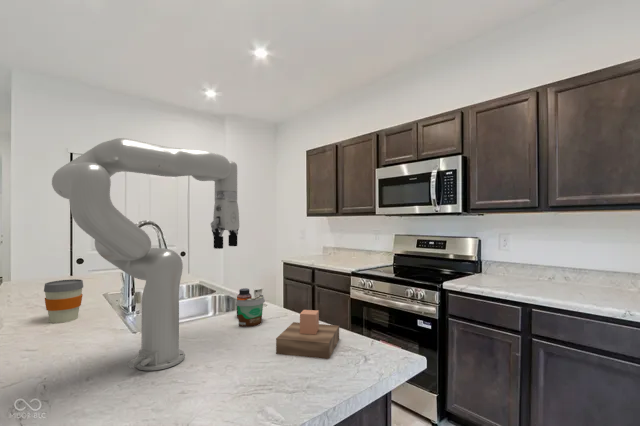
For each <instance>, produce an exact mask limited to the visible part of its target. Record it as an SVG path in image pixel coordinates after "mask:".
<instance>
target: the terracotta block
mask: <svg viewBox="0 0 640 426" xmlns="http://www.w3.org/2000/svg"><path fill="white" fill-rule="evenodd" d="M319 314H320V310H313V309H303V310H302V311H301V312H300V313H299V323H300V334H315V335H316V333H317V332H318V330H319V324H320V317H319V316H320V315H319Z"/></svg>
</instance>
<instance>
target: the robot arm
mask: <svg viewBox="0 0 640 426" xmlns="http://www.w3.org/2000/svg"><path fill="white" fill-rule="evenodd" d="M121 172H126V173H136V174H144V175H152V176H159V177H167V178H168V177H170V178H171V177H172V178H173V177H175V178H176V177H185V176H186V177H189V176H191V177H192V178H193V179H195V180H196V181H201V182H214V206H213V208H214V209H213V219H212V221H211V222H210V229H211V232H212V237H213V249H214V250H216V249H217V250H220V249H221V250H222V249H224V236H223V234H224V231H228V233H229V234H228V246H229V247H238V235H239V228H240V212H239V205H238V165H237V162H235V161H232V160H229V159H228V158H227V157H225V156H224V155H221V154H219V153H213V152H211V151H204V150H198V149H197V150H196V149H186V148H180V147H169V146H164V145H159V144H154V143H149V142H145V141H141V140H136V139H132V138H124V137H121V138H119V137H118V138H114V139H111V140H110V139H109V140H106V141H103V142H100V143H99V144H97V145H95V146H93V147H91V148H90V149H89V150H87V151H86V152H84V153H83V154H81V155H79V156H78V157H76V158H75V159H73V160H71V161H69V162H68V163H66V164H65V165H63V166H61V167H59V168H58V169H57V170H56V171H55V172H54V174H53V175H52V178H51V185H52V189H53V191H54V192H55V193H56V194H57V195H58V196H60V197H61V198H63V199H66V200H69V208H70V212H71V217H72V218H73V221H74V222H75V223H76V225H77V226H78V227H79V228H80V230H82V231H83V232H85V233H86V234H88V235H89V236H90V237H91V238H92V239H93V240H94V247H95V251H96V252H97V253H98V255H99V256H101V258H102V259H104V260H105V261H106V262H108V263H110V264H112V265H113V266H115V267H116V268H118V269H120V270H121V271H122V272H124V273H125V274H127V275H128V276H131V277H132V278H134V279H136V280H137V279H138V280H141V281H145V284H144V288H143V290H142V295H141V338H140V339H141V349H140V350H138V355H137V356H136V357H135V358H132V359H131V360H129V361H128V363H127V366H128V367H129V368H130V369H133V368H136V369H138V370H141V371H145V372H147V371H148V372H149V371H150V372H151V371H160V370H165V369H168V368H172V367H174V366H177V365H178V364H180V363H182V362H183V361H184V360H185V351H184V350H182V349H180V286H181V279H182V274H183V268H184V266H183V260H182V257H181V256H180V255H179V254H178V253H177V252H176V251H174V250H172V249H170V248H162V247H152V241H151V238H150V236H149V234H148V233H147V232H146V231H145V230H143V229H142V228H141V227H139V226H138V225H137V224H136V223H134V222H133V221H131V220H130V219H129V217H127V216H125V215H124V214H123V213H122V212H121V211H119V209H118V208H116V206H115V205H114V203H113V202H112V199H111V183H112V181H111V177H112V176H114V175H115V174H117V173H121Z"/></svg>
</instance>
